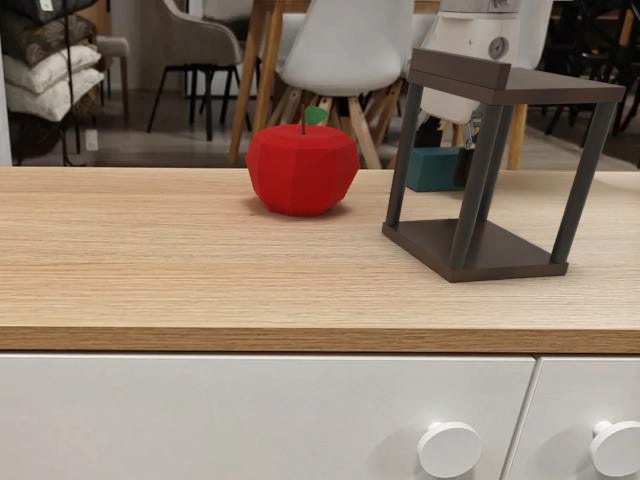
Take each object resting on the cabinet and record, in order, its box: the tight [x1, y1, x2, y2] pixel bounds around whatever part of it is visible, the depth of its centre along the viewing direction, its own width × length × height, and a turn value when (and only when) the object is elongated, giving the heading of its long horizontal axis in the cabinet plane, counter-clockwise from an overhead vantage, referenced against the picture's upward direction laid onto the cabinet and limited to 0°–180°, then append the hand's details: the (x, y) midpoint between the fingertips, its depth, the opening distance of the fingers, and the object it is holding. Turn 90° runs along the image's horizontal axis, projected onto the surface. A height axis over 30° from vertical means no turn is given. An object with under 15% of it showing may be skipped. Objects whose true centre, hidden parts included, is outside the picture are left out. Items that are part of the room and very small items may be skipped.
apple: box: [245, 103, 360, 217], centre depth 67 cm, size 11×11×10 cm
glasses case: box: [406, 145, 466, 193], centre depth 75 cm, size 8×4×4 cm, turn 99°
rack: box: [380, 47, 627, 283], centre depth 54 cm, size 10×12×16 cm
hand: (443, 174), depth 76 cm, fingers open, 8 cm apart
